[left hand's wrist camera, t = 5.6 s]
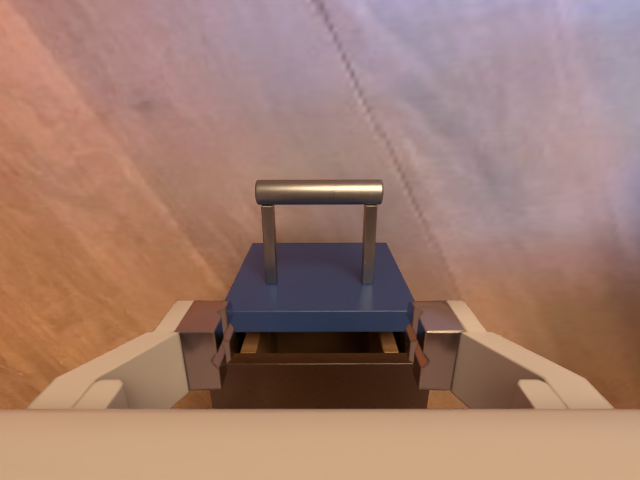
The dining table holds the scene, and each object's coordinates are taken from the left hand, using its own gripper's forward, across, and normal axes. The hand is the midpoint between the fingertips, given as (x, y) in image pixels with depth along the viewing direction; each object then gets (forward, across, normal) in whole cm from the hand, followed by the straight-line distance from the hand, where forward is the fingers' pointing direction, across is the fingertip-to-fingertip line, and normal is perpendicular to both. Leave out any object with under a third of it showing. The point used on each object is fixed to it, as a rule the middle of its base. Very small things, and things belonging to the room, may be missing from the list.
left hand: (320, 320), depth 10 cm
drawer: (+14, 0, -7) cm, 16 cm away
